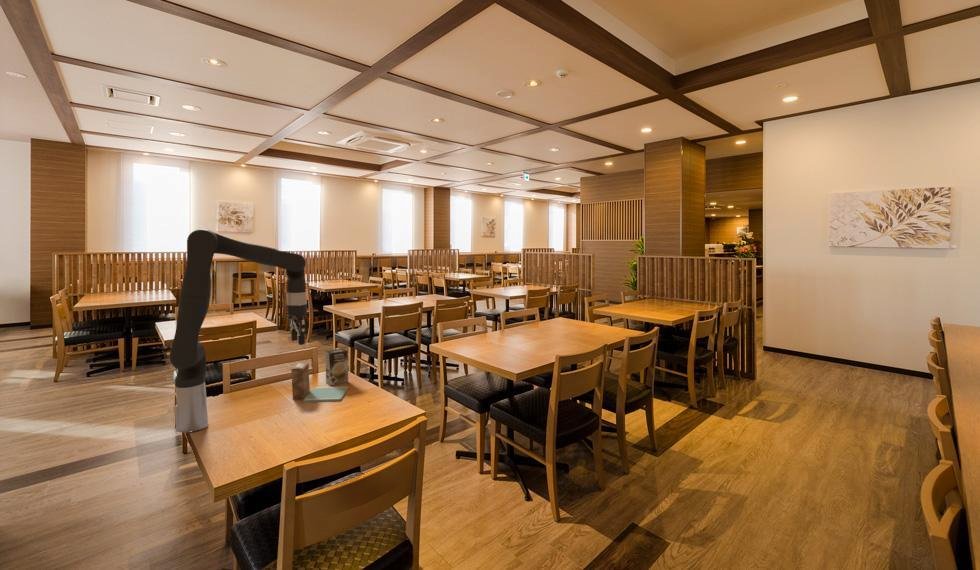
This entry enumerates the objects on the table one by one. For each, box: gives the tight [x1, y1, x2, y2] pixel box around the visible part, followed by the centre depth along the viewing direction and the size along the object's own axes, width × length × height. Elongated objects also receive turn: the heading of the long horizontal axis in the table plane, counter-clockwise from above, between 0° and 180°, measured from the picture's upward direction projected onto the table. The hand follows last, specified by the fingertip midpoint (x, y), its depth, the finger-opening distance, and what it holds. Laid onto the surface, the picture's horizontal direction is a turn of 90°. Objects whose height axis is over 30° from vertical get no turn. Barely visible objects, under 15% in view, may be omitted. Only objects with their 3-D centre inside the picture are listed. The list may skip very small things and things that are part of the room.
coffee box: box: [325, 348, 349, 387], centre depth 214 cm, size 9×6×16 cm
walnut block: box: [290, 362, 311, 400], centre depth 196 cm, size 5×8×14 cm, turn 7°
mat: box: [302, 386, 349, 403], centre depth 198 cm, size 16×16×1 cm
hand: (298, 342), depth 177 cm, fingers open, 8 cm apart
